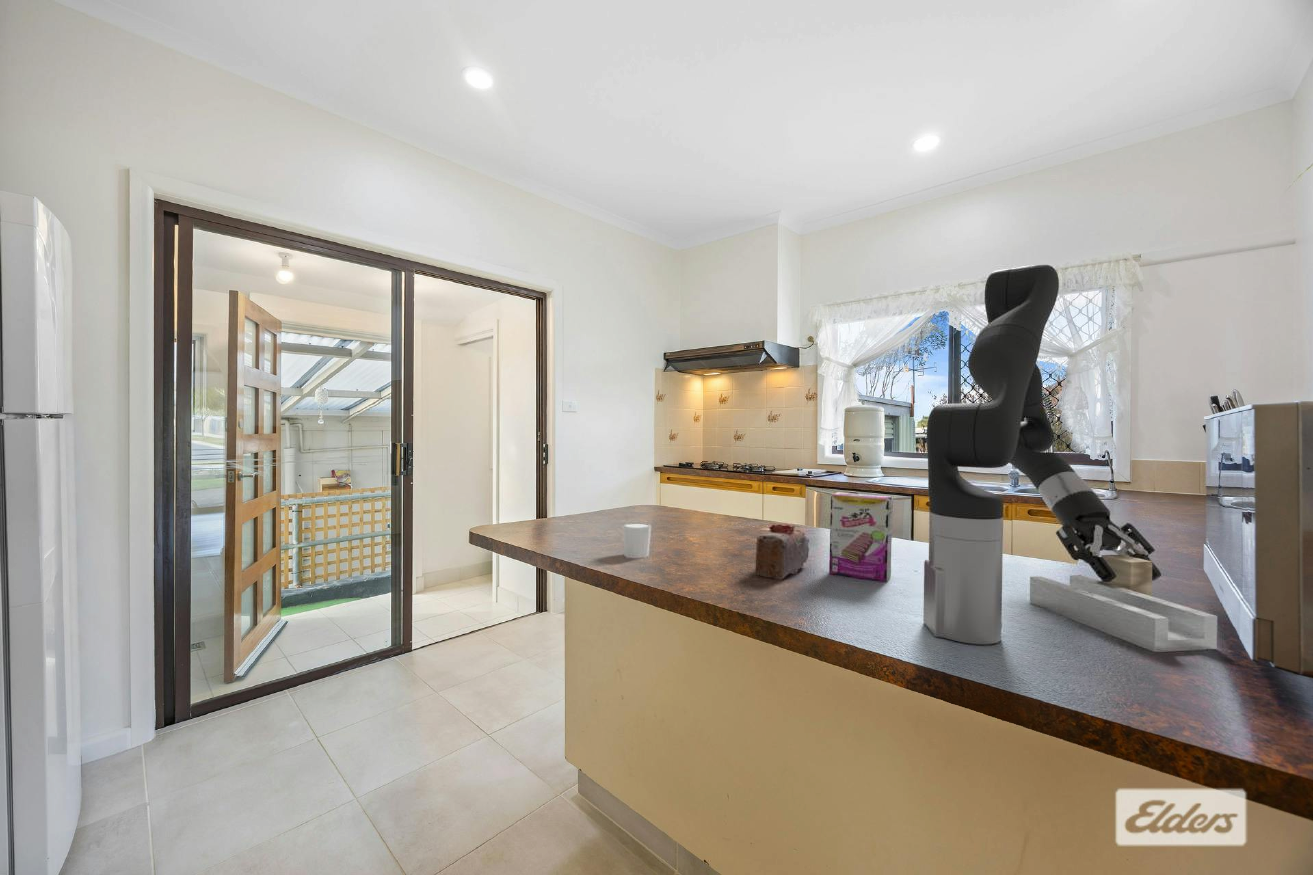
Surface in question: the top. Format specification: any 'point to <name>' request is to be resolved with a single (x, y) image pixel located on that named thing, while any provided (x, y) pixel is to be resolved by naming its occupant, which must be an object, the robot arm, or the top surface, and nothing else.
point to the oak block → (1131, 573)
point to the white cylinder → (636, 540)
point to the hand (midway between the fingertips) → (1133, 579)
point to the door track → (1127, 614)
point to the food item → (781, 552)
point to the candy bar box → (861, 536)
